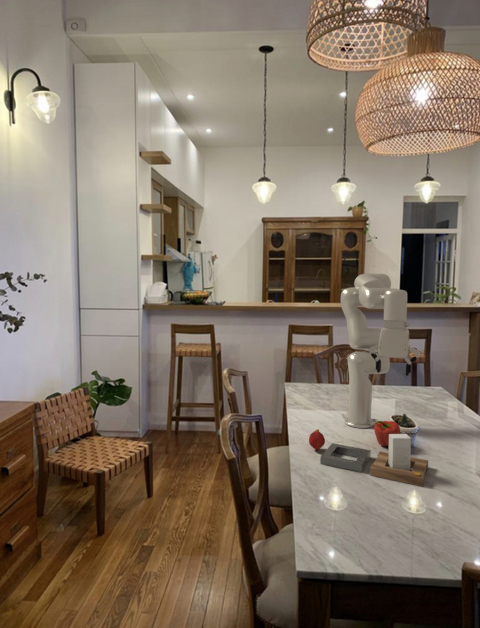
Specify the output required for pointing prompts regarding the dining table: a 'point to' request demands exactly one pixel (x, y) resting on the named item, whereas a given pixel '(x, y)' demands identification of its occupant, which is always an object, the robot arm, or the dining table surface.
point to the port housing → (397, 474)
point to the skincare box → (399, 451)
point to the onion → (316, 439)
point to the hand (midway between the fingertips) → (392, 373)
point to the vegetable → (385, 431)
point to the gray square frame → (344, 463)
